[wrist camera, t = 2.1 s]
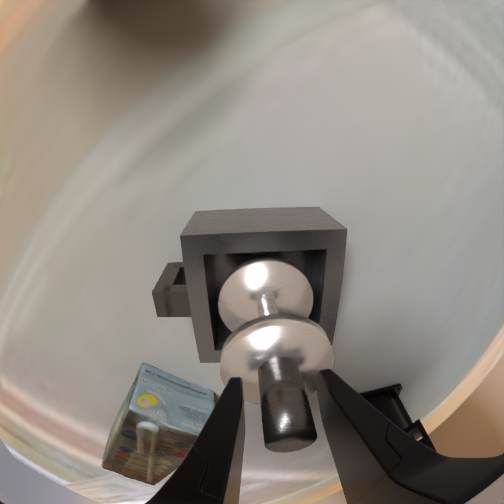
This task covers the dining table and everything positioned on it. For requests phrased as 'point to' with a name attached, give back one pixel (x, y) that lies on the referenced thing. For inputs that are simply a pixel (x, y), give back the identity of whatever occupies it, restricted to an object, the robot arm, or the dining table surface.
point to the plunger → (274, 347)
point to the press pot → (243, 249)
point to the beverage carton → (156, 425)
